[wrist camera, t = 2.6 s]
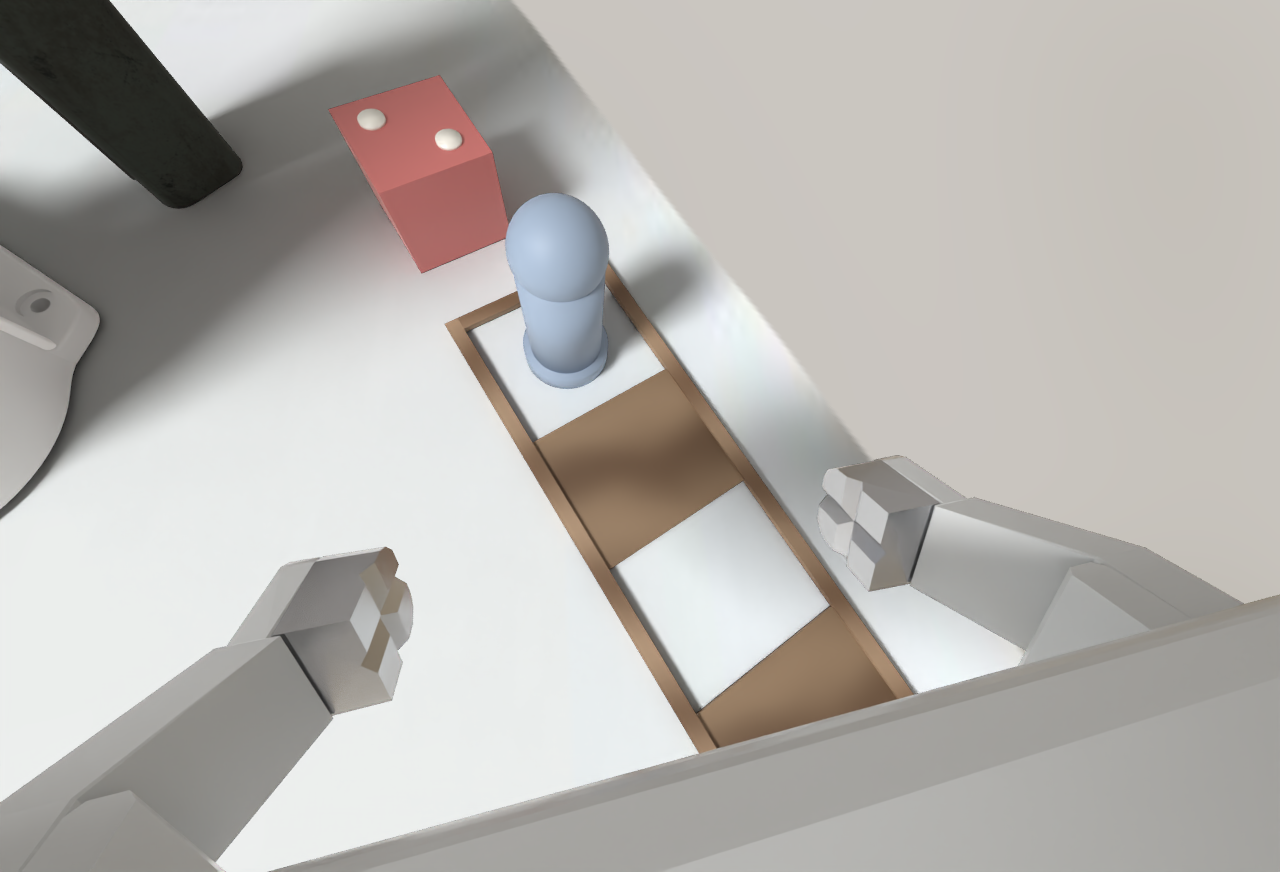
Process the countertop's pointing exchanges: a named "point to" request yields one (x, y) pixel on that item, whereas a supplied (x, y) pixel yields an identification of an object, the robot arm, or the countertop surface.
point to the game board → (662, 498)
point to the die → (426, 170)
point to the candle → (115, 95)
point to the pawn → (560, 287)
